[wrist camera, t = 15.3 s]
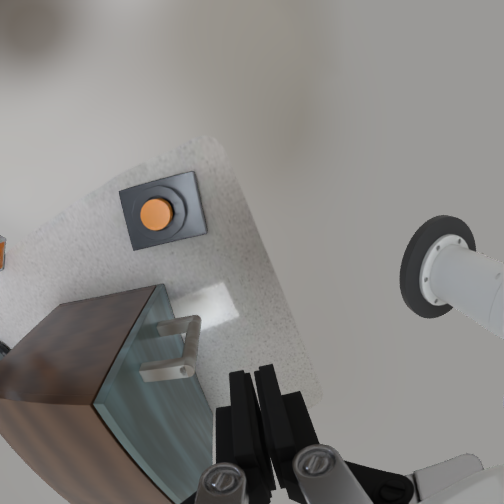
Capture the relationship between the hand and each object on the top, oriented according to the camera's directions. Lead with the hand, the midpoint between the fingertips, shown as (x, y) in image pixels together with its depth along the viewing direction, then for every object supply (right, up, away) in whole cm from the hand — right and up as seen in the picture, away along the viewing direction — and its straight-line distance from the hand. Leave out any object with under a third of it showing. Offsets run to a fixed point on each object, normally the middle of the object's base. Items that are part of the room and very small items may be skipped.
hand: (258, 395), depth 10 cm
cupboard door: (-8, -11, +32) cm, 35 cm away
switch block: (-12, +11, +26) cm, 31 cm away
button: (-11, +10, +23) cm, 27 cm away
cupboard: (-20, -14, +32) cm, 40 cm away
